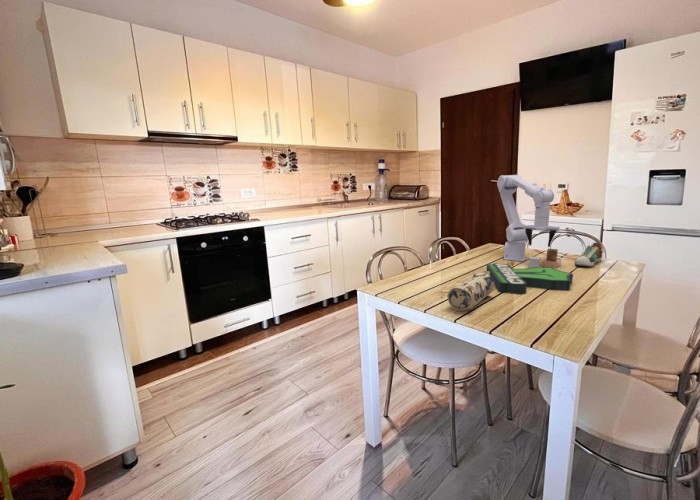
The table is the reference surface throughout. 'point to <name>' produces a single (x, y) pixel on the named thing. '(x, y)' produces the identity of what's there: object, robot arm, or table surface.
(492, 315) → the table surface
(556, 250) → the walnut block
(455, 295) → the pencil case
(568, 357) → the table surface
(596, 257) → the sneaker
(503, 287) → the emblem
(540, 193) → the robot arm
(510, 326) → the table surface
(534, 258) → the light grey block
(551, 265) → the terracotta tile
